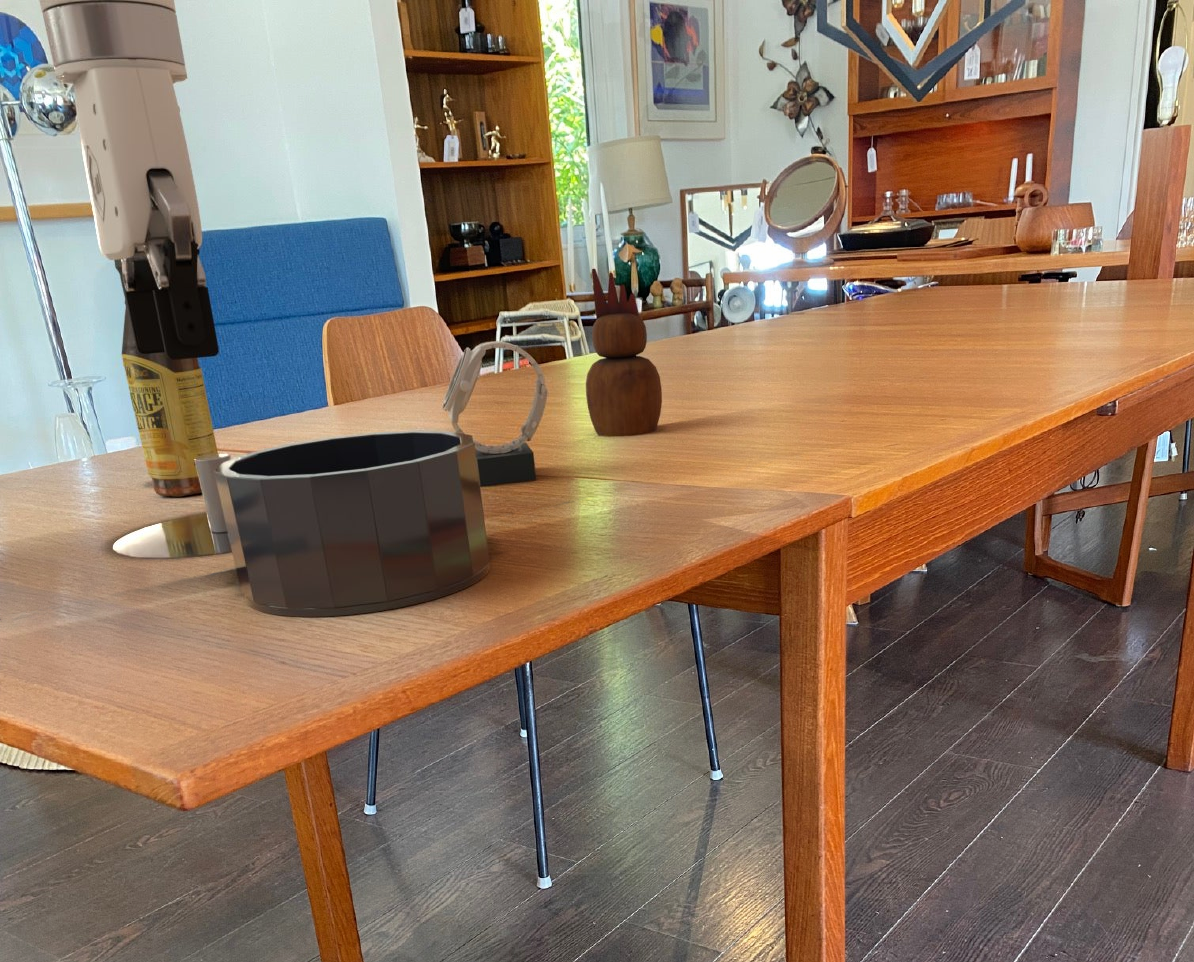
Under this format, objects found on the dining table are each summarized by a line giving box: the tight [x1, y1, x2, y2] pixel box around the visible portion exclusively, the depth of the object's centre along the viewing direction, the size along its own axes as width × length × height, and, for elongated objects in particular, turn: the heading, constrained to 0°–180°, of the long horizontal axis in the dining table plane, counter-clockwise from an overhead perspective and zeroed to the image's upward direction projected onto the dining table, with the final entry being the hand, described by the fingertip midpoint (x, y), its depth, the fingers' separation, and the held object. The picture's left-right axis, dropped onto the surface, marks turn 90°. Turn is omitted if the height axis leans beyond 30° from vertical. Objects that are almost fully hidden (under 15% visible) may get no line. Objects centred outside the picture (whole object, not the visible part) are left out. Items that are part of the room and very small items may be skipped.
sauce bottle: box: [113, 259, 219, 498], centre depth 100 cm, size 6×6×20 cm
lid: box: [112, 453, 232, 560], centre depth 81 cm, size 16×16×6 cm
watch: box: [442, 340, 548, 488], centre depth 90 cm, size 6×8×11 cm
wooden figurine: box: [585, 268, 663, 437], centre depth 105 cm, size 7×6×15 cm
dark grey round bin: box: [214, 429, 491, 618], centre depth 68 cm, size 15×15×8 cm
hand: (176, 354), depth 77 cm, fingers open, 9 cm apart
